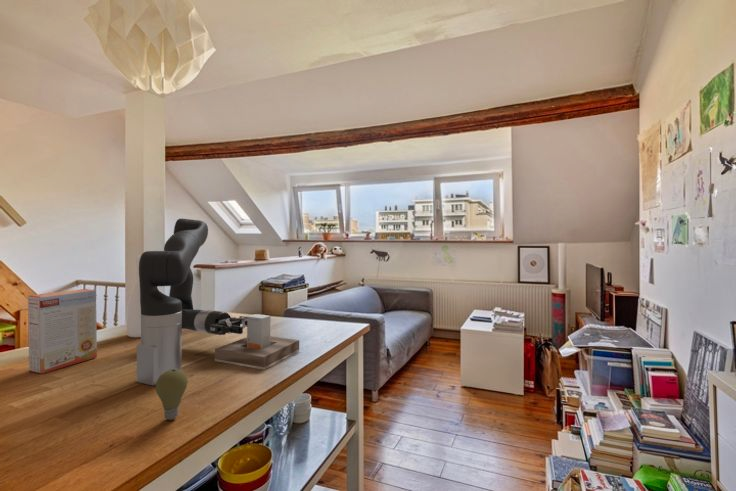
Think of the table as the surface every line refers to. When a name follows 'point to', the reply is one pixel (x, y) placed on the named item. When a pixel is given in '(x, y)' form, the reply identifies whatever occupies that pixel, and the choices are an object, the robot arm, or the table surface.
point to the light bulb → (171, 391)
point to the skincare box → (258, 331)
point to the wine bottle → (134, 308)
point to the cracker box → (61, 329)
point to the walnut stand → (257, 353)
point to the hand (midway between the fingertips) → (251, 327)
